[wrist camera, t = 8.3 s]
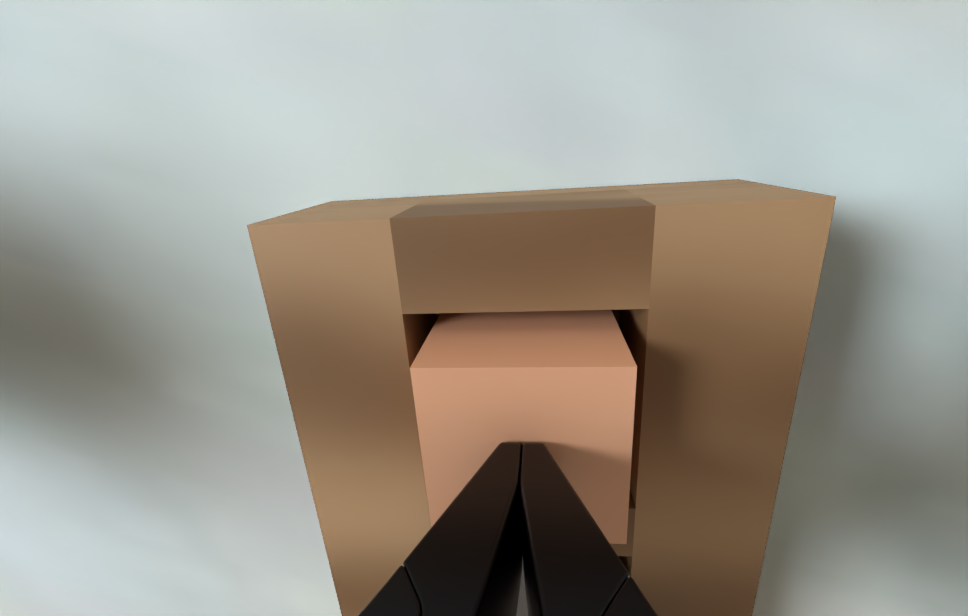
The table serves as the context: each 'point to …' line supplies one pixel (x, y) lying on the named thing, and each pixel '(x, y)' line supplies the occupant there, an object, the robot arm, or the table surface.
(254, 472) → the table surface
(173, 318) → the table surface
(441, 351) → the orange cube
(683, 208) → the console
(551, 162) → the table surface
